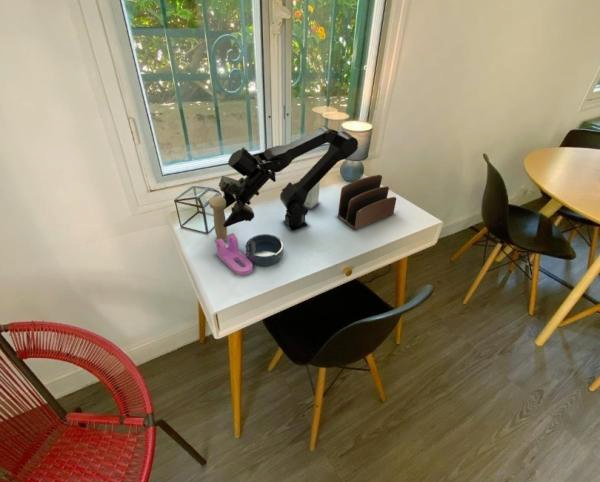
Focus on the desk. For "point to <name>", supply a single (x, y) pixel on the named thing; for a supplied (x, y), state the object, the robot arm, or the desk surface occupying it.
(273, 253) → the dark grey ring
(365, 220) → the letter holder
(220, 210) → the handle
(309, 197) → the supplement box
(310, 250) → the desk surface
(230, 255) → the bracket
